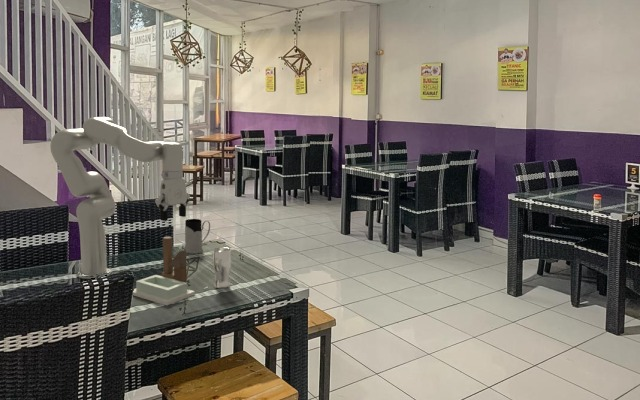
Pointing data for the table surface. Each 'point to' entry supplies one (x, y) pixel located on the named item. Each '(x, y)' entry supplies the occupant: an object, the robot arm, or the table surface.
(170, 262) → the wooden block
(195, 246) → the grey handled cylinder
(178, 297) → the end cap
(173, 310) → the table surface
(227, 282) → the beer glass
